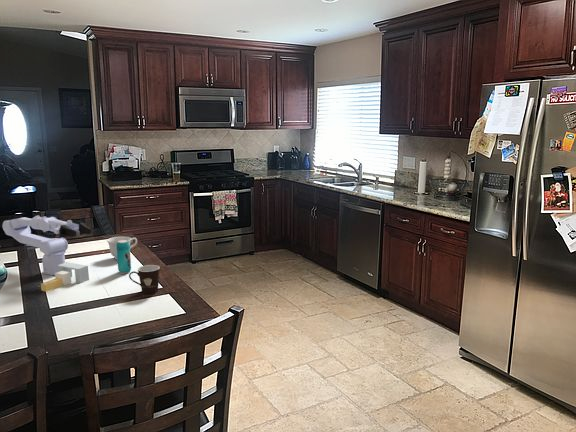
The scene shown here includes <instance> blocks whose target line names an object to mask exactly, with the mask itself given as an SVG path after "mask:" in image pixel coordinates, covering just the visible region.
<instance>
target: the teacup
mask: <svg viewBox="0 0 576 432" xmlns="http://www.w3.org/2000/svg"><path fill="white" fill-rule="evenodd" d="M119 240H129V244H130V250H131V249H132V248H134V247H135V246H136V245H138V239H137V238H136V237H131V236H123V235H122V236H120V235H119V236H112V237H110V238H108V239H107V240H106V242H107V243H108V246H109V252H110V254H111V256H112V257H114V260H117V246H116V244H117V241H119ZM133 241H135V242H134V244H131V243H133ZM117 261H118V260H117Z"/></svg>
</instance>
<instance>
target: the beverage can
mask: <svg viewBox="0 0 576 432" xmlns="http://www.w3.org/2000/svg"><path fill="white" fill-rule="evenodd" d="M116 246H117V269H118V272H119V274H121V275H122V274H123V275H125V274H130V273H131V270H132V261H131V260H132V258H131V249H130V246H131V243H130V244H129V240H119V241H117V244H116Z"/></svg>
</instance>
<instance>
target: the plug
mask: <svg viewBox="0 0 576 432" xmlns="http://www.w3.org/2000/svg"><path fill="white" fill-rule="evenodd" d="M54 276H55V278H53V279H50V280H48V281H44V282H42V283H40V288H41V291H42V292H46V293H47V292H50V291H53V290H55V289H57V288H60V287H62V286H67V285H70V284H72V277H71V272H68V271H60V272H57V273H55V275H54Z"/></svg>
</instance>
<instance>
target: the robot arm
mask: <svg viewBox="0 0 576 432" xmlns="http://www.w3.org/2000/svg"><path fill="white" fill-rule="evenodd" d="M31 228H32V229H33V230H41V231H42V232H43V233H46V232H48V231H49V232H53V234H56V235H58V234H59V238H58V237H57V238H56V237H55V238H54V237H53V238H49V237H45V236H42V235H37V234H33V233H32V230H31ZM2 229H3V231H4V234H5V235H7V236H9V237H12V238H13V239H14V240H16V241H17V242H19V243H21V244H24V245H27V246H30V247H34V248H37V249H38V248H39V251H40V252H41V253H43V256H42V258H41V260H42V263H41V264H42V271H41V273H42V274H45V275H50V276H55V273H57V272H58V265H60V264H63V263H66V257H65V253H66V251H67V250H68V248H69V244H68V241H67V239H66V237H76V236H77V233H79V236H83V235H91V234H92V228H90V227H88V226H87V225H86V223H85V222H79V223H74V222H73V220H71V219H68V220H67V221H65V220H64V221H63V220H60V219H57V217H55V216H50V217H47V216H40V215H35V216H34V217H32V218H29V217H24V216H23V217H19V218H13V219H8V220H3V222H2Z"/></svg>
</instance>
